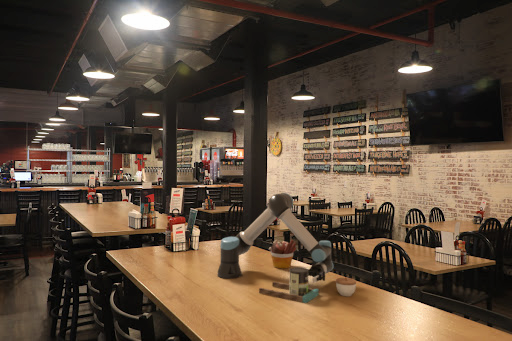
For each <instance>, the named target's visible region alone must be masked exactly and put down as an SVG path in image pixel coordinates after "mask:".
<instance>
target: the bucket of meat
mask: <svg viewBox="0 0 512 341" xmlns="http://www.w3.org/2000/svg"><path fill="white" fill-rule="evenodd" d="M296 246H297V243H296V242H295V241H294V240H293V239H291V240H290V242H288V241H284V240H282V242H281V241H279V240H278V239H275V240H274V241H273V243H272V246H270V247H269V248H268V250H269V251H270V255H271V259H272V260H271V261H272V265H273V267H274V268H275V269H281V268H282V269H288V268H289V269H290V267H292V266H291V265H292V261H293V257H294V252H296V250H297V247H296Z"/></svg>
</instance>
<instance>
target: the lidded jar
mask: <svg viewBox="0 0 512 341" xmlns="http://www.w3.org/2000/svg"><path fill="white" fill-rule="evenodd" d="M335 283H336V284H335V285H336V290H337V292H338V293H339V295H340V296H342V297H352V296H353V294H354V293H355V292H356V289H357V288H356V287H357V280H356V279H354V278H351V277H347V276H345V277H337V278H336V279H335Z"/></svg>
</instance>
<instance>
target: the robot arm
mask: <svg viewBox="0 0 512 341" xmlns="http://www.w3.org/2000/svg"><path fill="white" fill-rule="evenodd" d="M293 206H294V199H293V197H292V196H291V195H290V194H289V193H286V192H281V193H276V194H273V195H271V197H270V198H269V199H268V203H267V208H266V209H265V210H263V212H262V213H261V214H259V216H258V217H257V218H256V219H255V220H254V221H253V222H252V223H251V224H250V225H249V226H248V227H247V228H246V229H245V230H244V231H240V232H238V233H237V235H236V236H227V237H224V238H222V239H221V240H220V246H219V247H220V264H219V267H218V270H217V277H219V278H223V279H238V278H241V277H242V269H241V266H240V256H241V255H244V254H246V253H247V252H249V250H250V249H251V247H253V245H254V241H255V240H256V239H257V238H258V237H259V236H260V235H261V234H262V233H263V231H265V230H266V229H267V228H268V227H269V226H270V225H271V224H272V223H273V222H274V221H275V220H276V219H278V220H280V221H281V222H283V224H284V225H285V226H286V227H287V228H288V229H289V231H290V232H291V233H292V234H293V236H295V238H296V239H297V241H299V242H300V244H302V245H303V247H304V248H305V249H306V250H307V251H308V253H310V256H311V259H312V260H313V261H314V262H315V264H313V265H311V266H310V268H307V269H308V270H309V272H308V277H312V284H315V283H317V282H319V281H324V282H325V281H326V275H327V274H329V273H330V272H331V271H333V269H334V267H335V266H334V265H335V264H334V263H333V261H332V242H331V241H330V240H320V241H317V239H315V237H314V236H313V235H312V234H311V232H309V230H308V229H307V228H306V227H305V226H304V225H303V224H302V223H301V221H300V220H299V219H298V218H297V217H296V216H295V215H294V214H293V212H292V211H291V209H292V208H293Z"/></svg>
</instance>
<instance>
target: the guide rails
mask: <svg viewBox="0 0 512 341" xmlns="http://www.w3.org/2000/svg"><path fill="white" fill-rule="evenodd" d="M272 287H273V288H279V289H284V290H288V291H289V283H284V282H279V281H272ZM314 289H315V288H310V287H308V293H309V292H311V291H312V290H314ZM319 291H320V290H319ZM319 291H318V293H320V292H319ZM258 293H259V294H263V295H267V296H271V297H276V298H282V299H285V300H289V299H290V301H294V302H300V303H303V302H302V300H303V296H298V295H293V294H289V293H288V292H283V291H279V290H274V289H268V288H264V287H263V288H262V287H260V288H259V289H258ZM318 296H319V294H318ZM304 300H305V299H304Z"/></svg>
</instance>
